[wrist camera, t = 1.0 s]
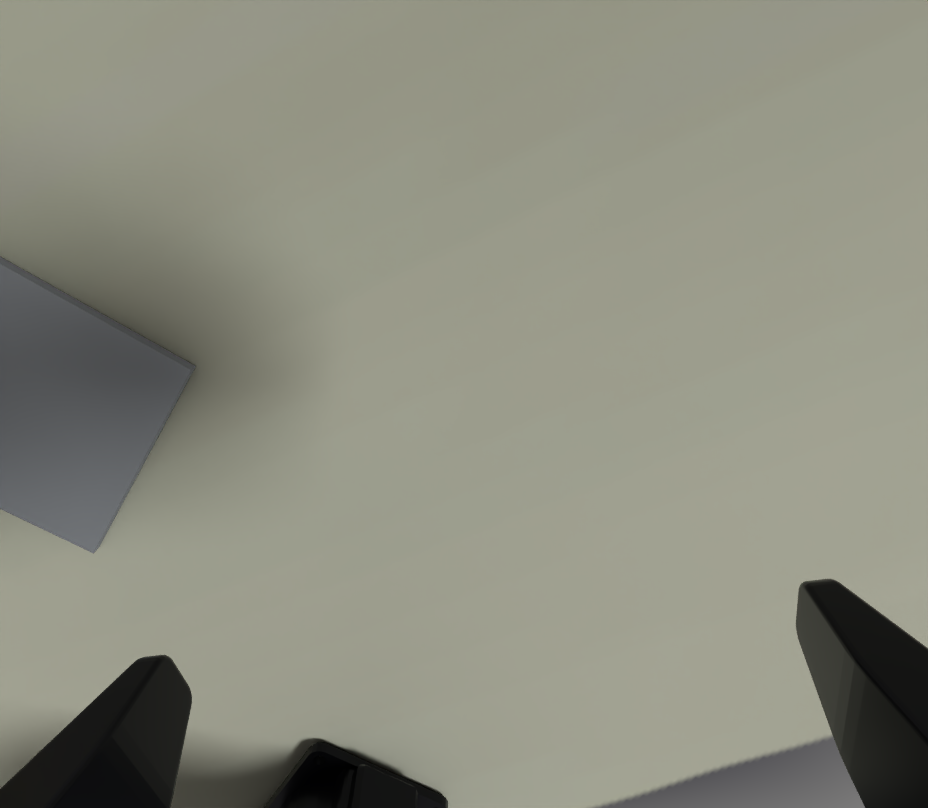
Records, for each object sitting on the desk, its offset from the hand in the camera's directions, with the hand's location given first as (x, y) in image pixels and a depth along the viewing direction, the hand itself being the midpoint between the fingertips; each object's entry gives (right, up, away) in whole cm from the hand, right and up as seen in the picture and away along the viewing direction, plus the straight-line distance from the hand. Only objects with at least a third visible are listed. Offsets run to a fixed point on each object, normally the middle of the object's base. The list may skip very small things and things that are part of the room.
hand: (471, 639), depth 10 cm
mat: (-16, +4, +12) cm, 20 cm away
